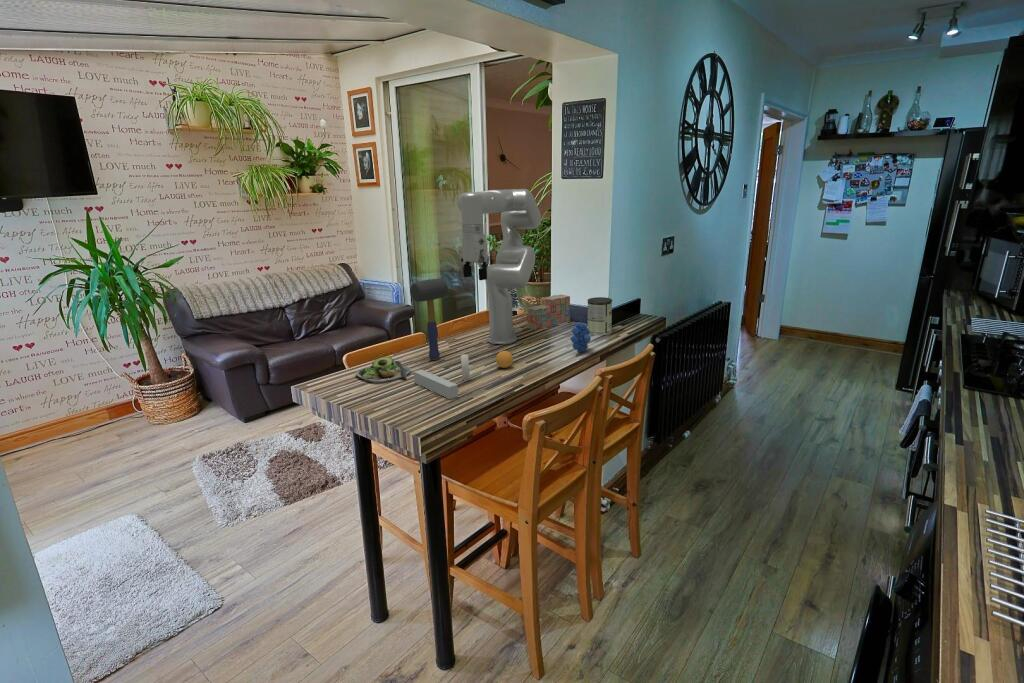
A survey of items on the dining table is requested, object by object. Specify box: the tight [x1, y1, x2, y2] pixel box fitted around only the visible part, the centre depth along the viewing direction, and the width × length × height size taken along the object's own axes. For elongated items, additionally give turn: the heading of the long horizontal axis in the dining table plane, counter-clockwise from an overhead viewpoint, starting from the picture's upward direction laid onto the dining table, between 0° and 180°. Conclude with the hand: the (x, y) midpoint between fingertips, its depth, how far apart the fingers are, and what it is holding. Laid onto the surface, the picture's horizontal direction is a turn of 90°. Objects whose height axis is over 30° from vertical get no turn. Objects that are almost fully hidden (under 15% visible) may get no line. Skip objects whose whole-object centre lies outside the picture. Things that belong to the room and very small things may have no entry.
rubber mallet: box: [409, 278, 449, 361], centre depth 191 cm, size 12×8×30 cm, turn 133°
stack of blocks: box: [526, 294, 571, 331], centre depth 237 cm, size 21×6×12 cm, turn 130°
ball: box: [495, 350, 514, 369], centre depth 183 cm, size 6×6×6 cm
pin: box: [460, 353, 470, 381], centre depth 172 cm, size 2×2×8 cm
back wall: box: [413, 369, 459, 400], centre depth 165 cm, size 3×20×4 cm, turn 42°
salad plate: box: [355, 355, 412, 384], centre depth 180 cm, size 19×18×5 cm
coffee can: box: [587, 296, 613, 336], centre depth 222 cm, size 10×10×14 cm
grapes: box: [570, 322, 591, 354], centre depth 195 cm, size 12×7×12 cm, turn 141°
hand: (475, 278), depth 188 cm, fingers open, 9 cm apart
